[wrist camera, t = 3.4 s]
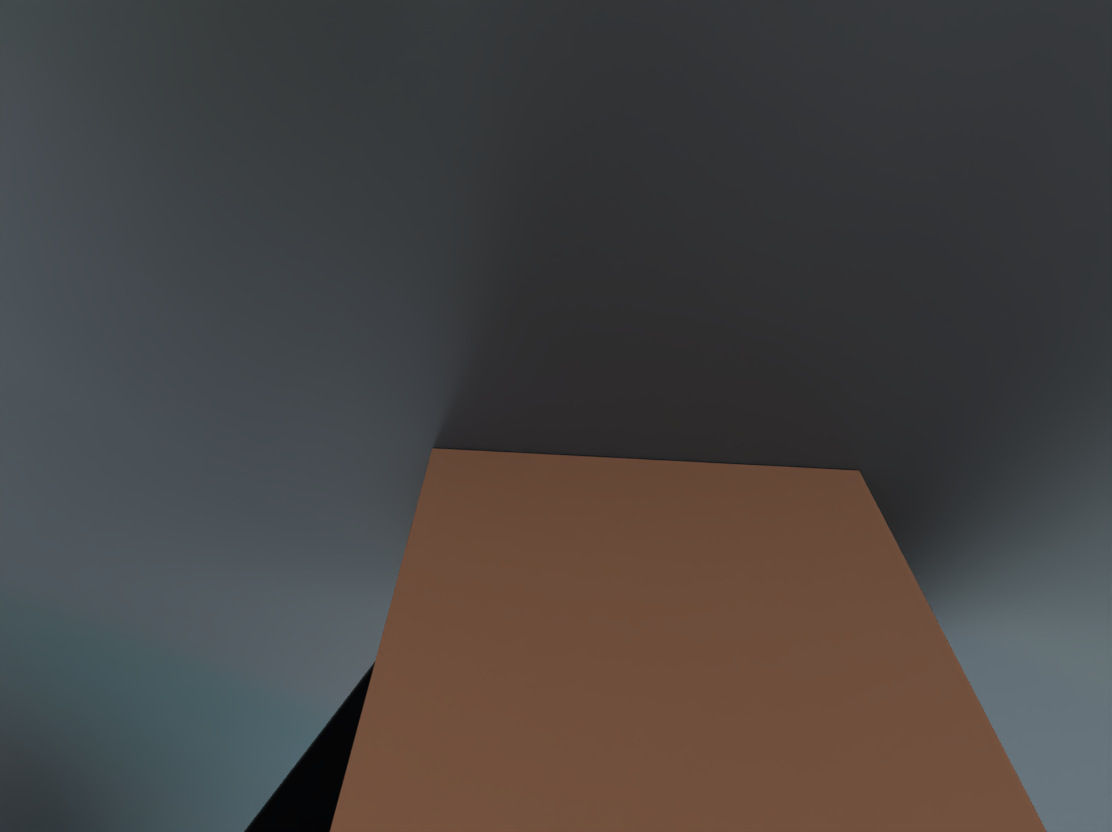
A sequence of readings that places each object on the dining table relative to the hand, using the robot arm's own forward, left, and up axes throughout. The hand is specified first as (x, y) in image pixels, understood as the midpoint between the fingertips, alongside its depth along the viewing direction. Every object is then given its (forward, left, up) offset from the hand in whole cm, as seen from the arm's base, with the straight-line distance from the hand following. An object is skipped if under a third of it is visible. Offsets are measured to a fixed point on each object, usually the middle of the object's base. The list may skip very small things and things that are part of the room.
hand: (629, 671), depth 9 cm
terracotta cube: (0, 0, -1) cm, 1 cm away
